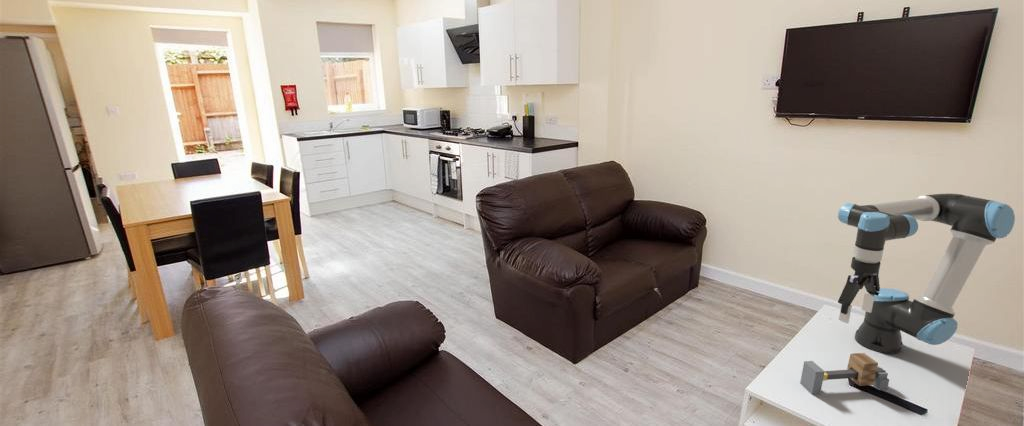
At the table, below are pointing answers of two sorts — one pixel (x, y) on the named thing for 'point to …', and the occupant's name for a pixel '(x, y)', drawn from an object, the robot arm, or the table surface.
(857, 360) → the wooden block on rod
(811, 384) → the rod rig
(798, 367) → the table surface
